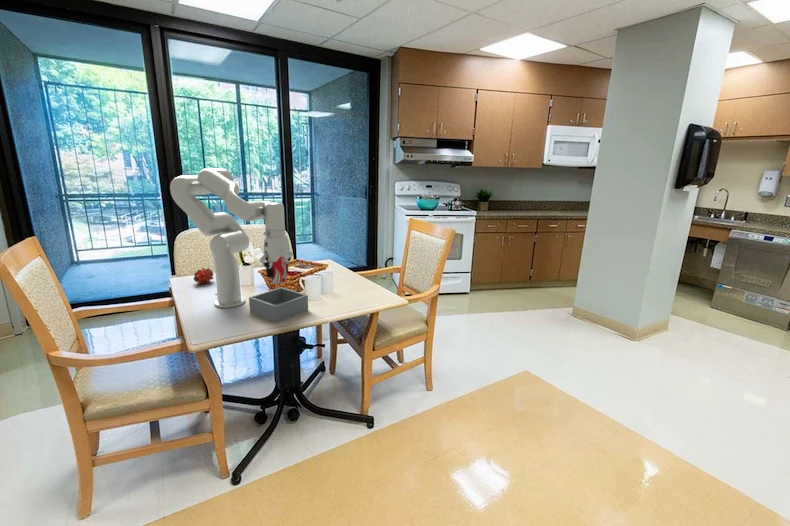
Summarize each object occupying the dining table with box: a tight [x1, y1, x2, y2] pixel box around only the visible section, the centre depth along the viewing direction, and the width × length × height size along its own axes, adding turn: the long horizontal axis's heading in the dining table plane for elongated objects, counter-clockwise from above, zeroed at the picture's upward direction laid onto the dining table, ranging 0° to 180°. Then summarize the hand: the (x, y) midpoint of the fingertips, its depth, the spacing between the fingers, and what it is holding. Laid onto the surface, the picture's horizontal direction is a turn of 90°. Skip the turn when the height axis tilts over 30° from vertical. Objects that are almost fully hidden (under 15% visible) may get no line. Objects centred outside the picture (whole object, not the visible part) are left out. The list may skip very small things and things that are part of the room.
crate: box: [248, 286, 309, 324], centre depth 156 cm, size 17×17×7 cm
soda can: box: [268, 255, 288, 285], centre depth 152 cm, size 7×7×12 cm
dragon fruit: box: [193, 267, 215, 285], centre depth 188 cm, size 8×8×12 cm
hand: (277, 274), depth 153 cm, fingers closed on soda can, 7 cm apart
